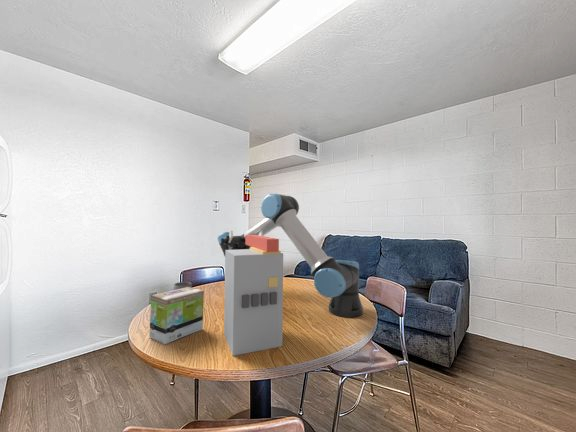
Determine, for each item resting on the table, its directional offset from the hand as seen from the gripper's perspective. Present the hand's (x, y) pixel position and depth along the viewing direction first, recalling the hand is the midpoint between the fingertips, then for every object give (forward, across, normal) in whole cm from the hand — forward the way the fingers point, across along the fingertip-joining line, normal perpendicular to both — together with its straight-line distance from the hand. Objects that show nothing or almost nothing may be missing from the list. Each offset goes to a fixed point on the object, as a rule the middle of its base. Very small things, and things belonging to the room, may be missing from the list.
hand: (247, 233), depth 113 cm
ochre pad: (+19, 0, -17) cm, 25 cm away
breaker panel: (+5, +4, -43) cm, 43 cm away
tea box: (-9, +28, -36) cm, 46 cm away
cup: (-38, +25, -19) cm, 49 cm away
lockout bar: (+15, 0, -14) cm, 20 cm away
